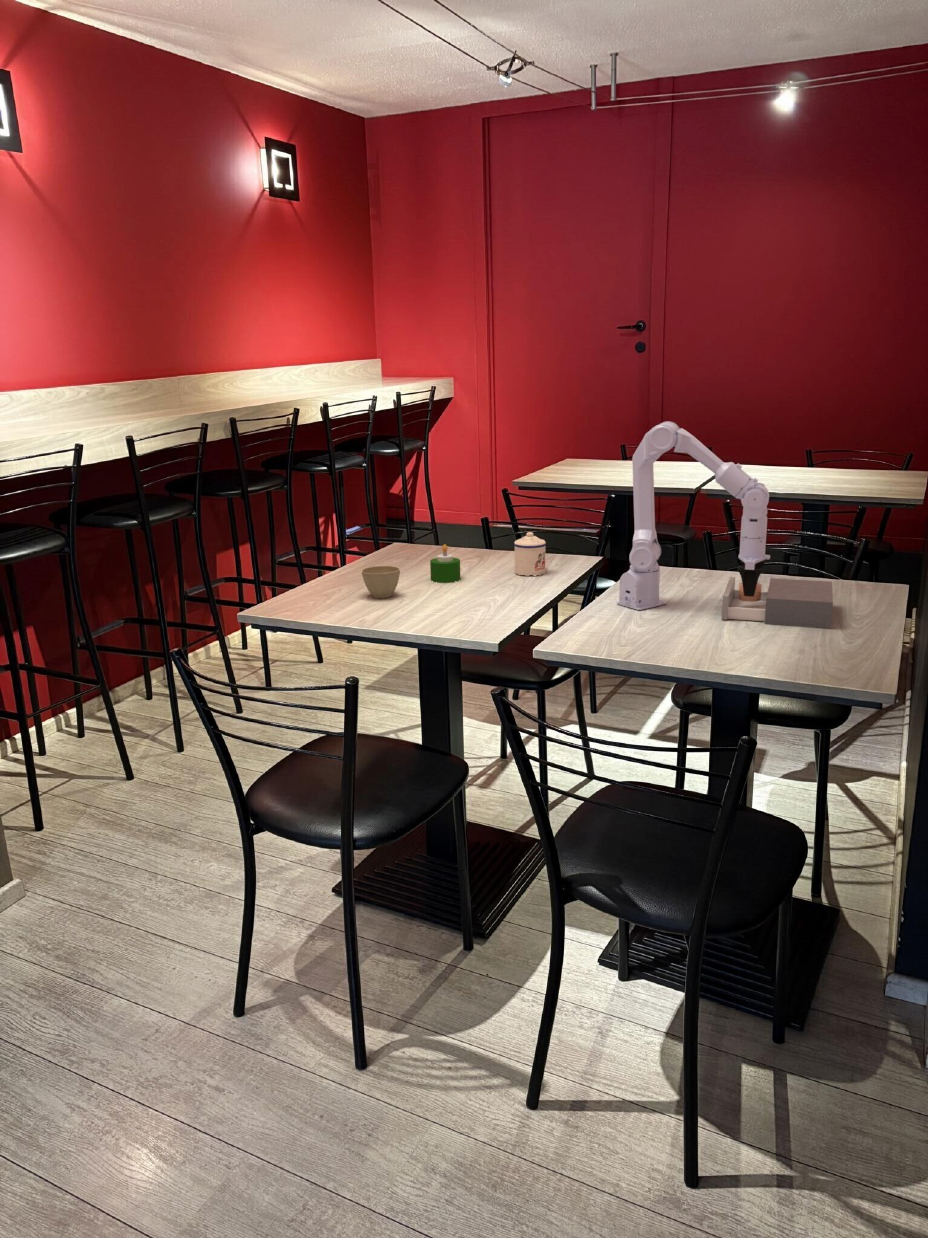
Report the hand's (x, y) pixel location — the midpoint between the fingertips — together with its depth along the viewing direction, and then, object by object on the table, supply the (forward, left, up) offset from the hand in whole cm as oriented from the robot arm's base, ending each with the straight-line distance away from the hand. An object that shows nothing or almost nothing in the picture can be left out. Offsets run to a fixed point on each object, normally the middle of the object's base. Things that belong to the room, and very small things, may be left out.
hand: (749, 593), depth 222 cm
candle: (-39, +73, -5) cm, 83 cm away
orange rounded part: (0, 0, -1) cm, 1 cm away
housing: (+6, -8, -4) cm, 11 cm away
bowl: (-62, +68, -5) cm, 92 cm away
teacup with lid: (-15, +65, -5) cm, 67 cm away
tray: (0, 0, -4) cm, 4 cm away
